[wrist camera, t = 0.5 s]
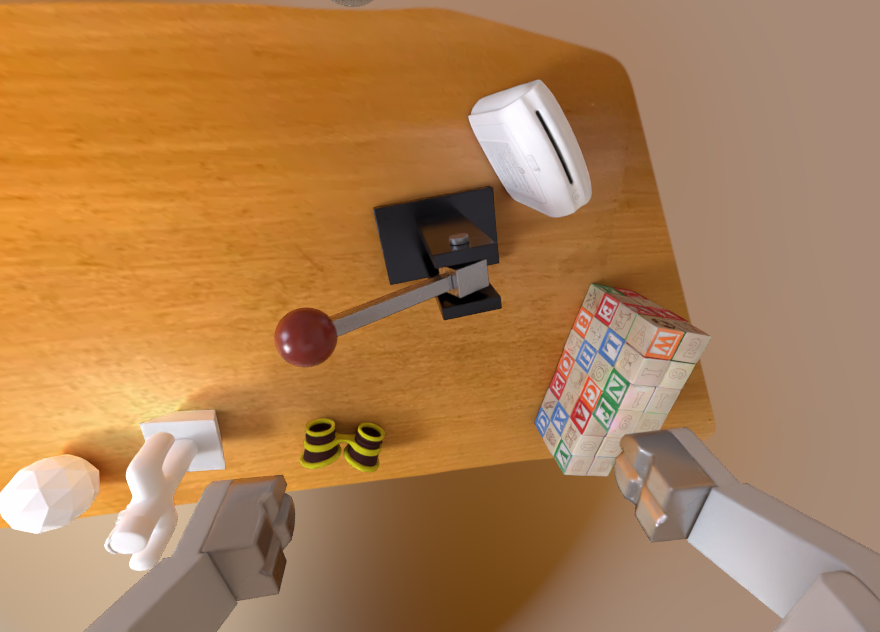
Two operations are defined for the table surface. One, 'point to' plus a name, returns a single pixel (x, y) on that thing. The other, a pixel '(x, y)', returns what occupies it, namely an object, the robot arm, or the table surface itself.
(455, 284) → the lever
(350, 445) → the opera glasses
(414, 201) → the bracket
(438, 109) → the table surface
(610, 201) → the table surface
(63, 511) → the geometric ball
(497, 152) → the photo printer
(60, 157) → the table surface
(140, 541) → the figurine
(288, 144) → the table surface
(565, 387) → the stack of blocks
